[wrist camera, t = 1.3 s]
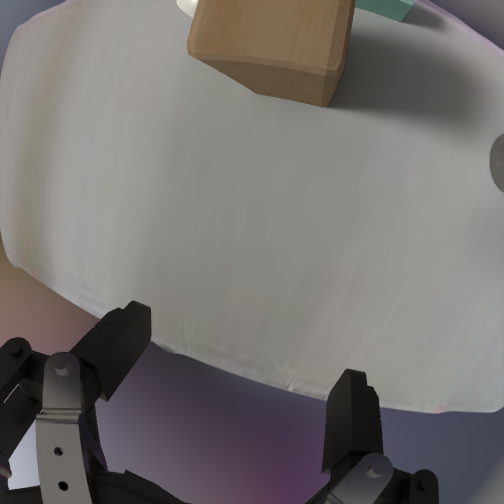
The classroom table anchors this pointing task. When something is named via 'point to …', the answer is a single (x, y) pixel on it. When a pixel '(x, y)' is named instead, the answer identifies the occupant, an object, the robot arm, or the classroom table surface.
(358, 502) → the robot arm
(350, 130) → the classroom table surface
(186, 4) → the cream rounded cylinder
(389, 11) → the teal block
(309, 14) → the wooden block
